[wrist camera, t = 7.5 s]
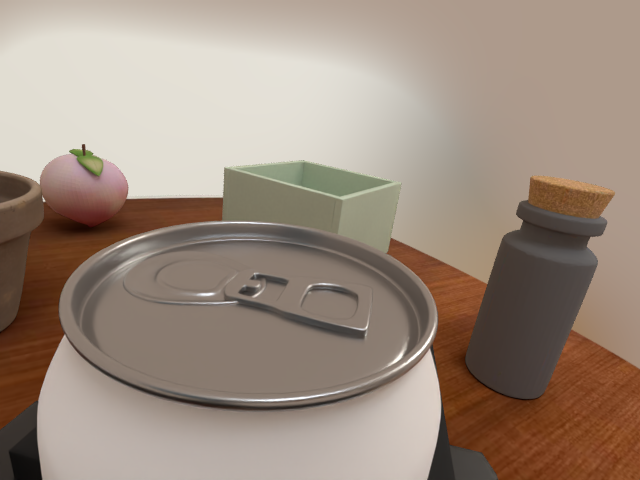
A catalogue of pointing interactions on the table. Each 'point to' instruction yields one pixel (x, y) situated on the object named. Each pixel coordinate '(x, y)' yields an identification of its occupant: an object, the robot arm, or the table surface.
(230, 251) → the can
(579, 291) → the bottle
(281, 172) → the bin
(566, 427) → the table surface
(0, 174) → the flower pot
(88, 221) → the decorative fruit
